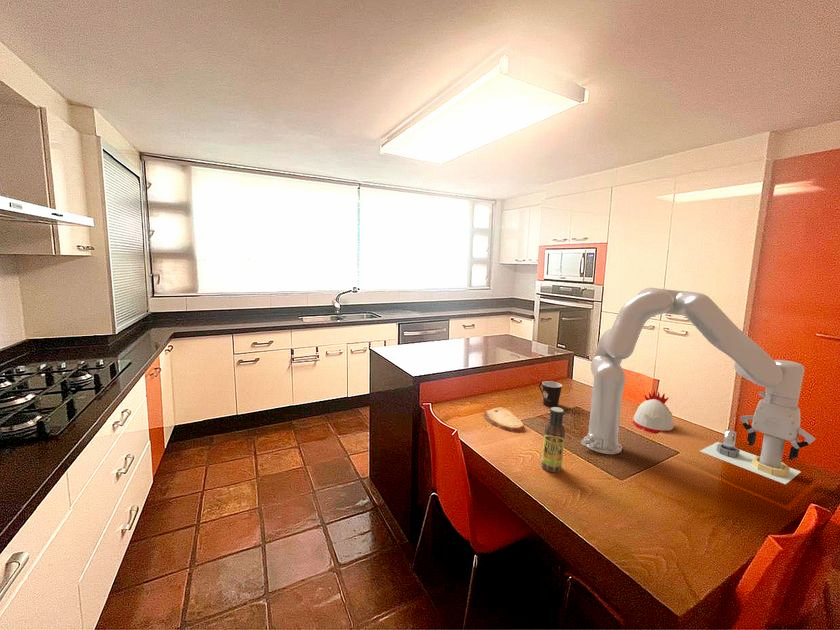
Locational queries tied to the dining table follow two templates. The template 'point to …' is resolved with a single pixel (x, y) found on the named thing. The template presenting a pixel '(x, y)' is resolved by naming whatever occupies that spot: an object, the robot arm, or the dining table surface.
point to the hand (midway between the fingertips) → (770, 451)
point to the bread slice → (504, 419)
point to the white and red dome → (654, 415)
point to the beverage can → (772, 451)
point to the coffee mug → (551, 393)
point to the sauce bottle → (553, 441)
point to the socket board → (751, 463)
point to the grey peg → (729, 440)
